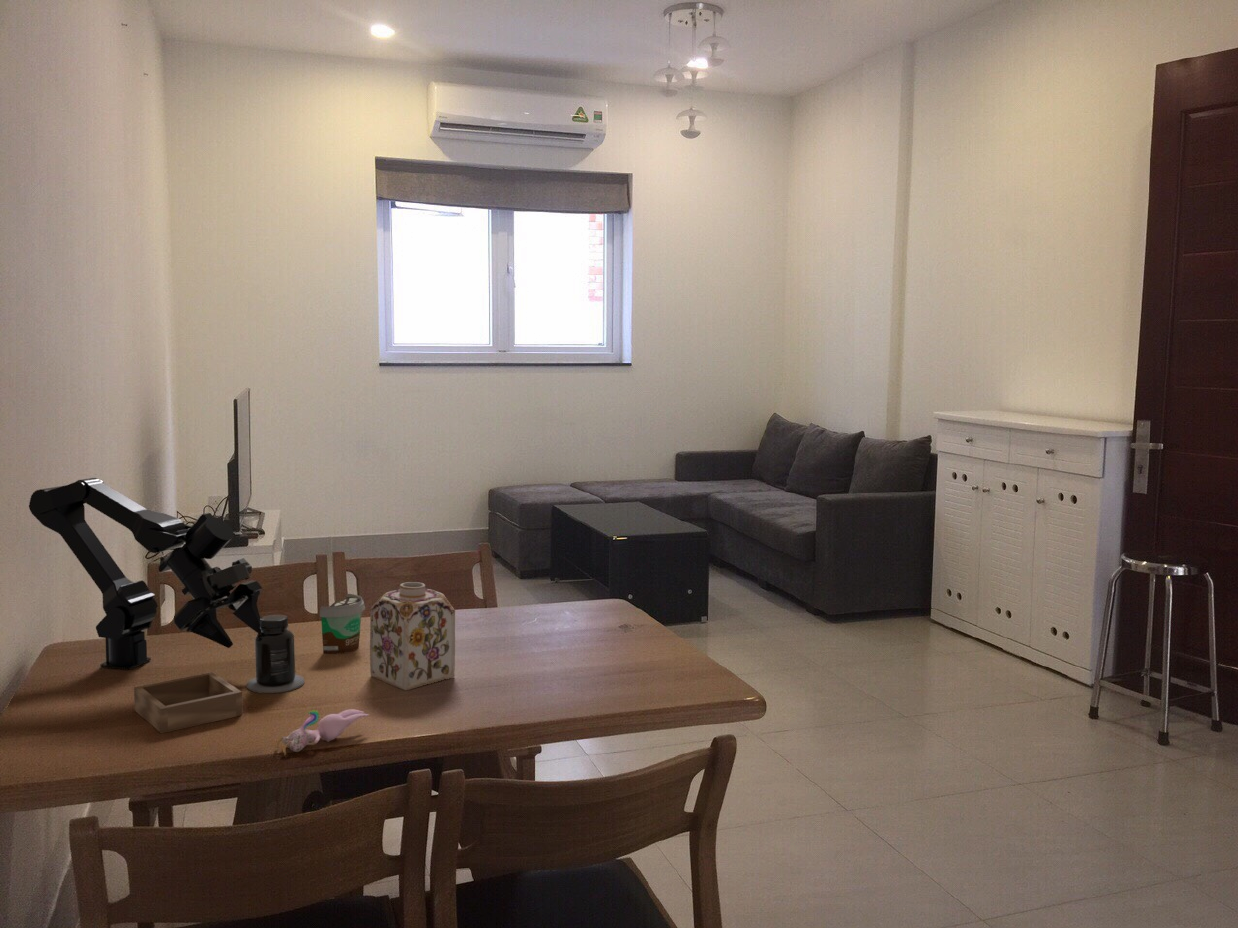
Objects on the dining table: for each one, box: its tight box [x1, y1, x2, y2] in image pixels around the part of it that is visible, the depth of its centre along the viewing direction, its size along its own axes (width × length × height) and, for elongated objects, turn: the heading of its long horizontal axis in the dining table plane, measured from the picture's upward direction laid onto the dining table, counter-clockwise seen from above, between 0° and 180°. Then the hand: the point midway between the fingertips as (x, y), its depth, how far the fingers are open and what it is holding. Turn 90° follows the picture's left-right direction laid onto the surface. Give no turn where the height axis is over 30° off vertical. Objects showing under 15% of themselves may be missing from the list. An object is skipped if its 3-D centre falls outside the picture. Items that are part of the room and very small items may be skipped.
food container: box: [319, 593, 366, 655], centre depth 207 cm, size 12×6×10 cm, turn 168°
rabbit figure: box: [274, 708, 369, 755], centre depth 159 cm, size 6×6×15 cm
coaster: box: [246, 674, 305, 694], centre depth 185 cm, size 10×10×1 cm
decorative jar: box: [369, 581, 456, 691], centre depth 190 cm, size 12×12×18 cm
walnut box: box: [133, 672, 243, 734], centre depth 169 cm, size 13×13×4 cm
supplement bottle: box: [254, 614, 296, 687], centre depth 184 cm, size 7×7×12 cm
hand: (247, 639), depth 185 cm, fingers open, 9 cm apart
